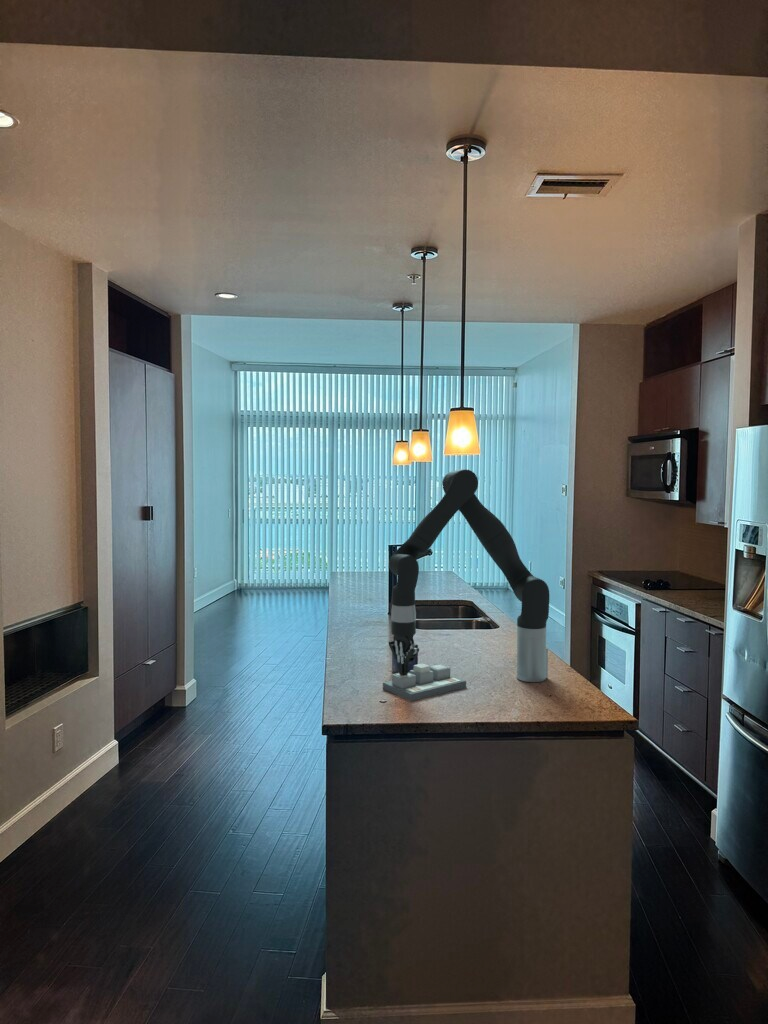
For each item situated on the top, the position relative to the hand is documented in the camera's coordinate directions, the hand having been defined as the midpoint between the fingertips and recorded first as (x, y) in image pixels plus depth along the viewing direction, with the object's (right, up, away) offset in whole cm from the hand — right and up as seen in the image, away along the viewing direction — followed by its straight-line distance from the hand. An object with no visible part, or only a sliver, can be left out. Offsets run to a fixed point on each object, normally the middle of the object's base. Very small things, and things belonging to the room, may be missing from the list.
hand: (403, 674), depth 206 cm
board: (+7, -5, +3) cm, 9 cm away
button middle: (+6, -1, +4) cm, 7 cm away
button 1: (0, -3, 0) cm, 3 cm away
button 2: (+11, -3, +8) cm, 14 cm away
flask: (+1, -4, +21) cm, 22 cm away
